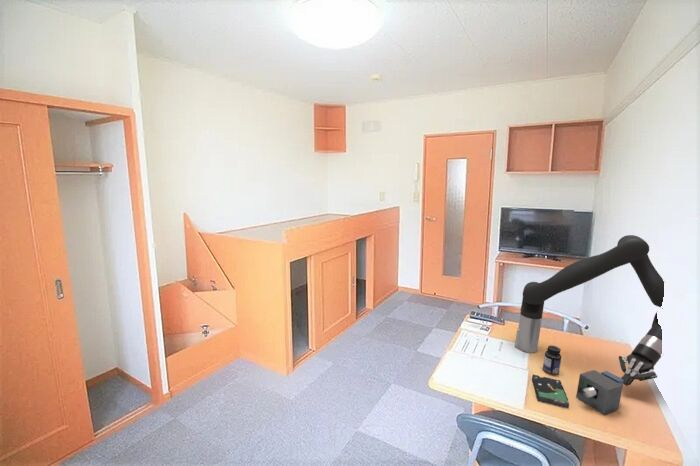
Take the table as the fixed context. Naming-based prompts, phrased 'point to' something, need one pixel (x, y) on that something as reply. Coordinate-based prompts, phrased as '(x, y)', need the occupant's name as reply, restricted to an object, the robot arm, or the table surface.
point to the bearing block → (600, 392)
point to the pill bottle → (552, 360)
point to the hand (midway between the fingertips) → (624, 384)
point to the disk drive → (550, 391)
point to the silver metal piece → (593, 391)
